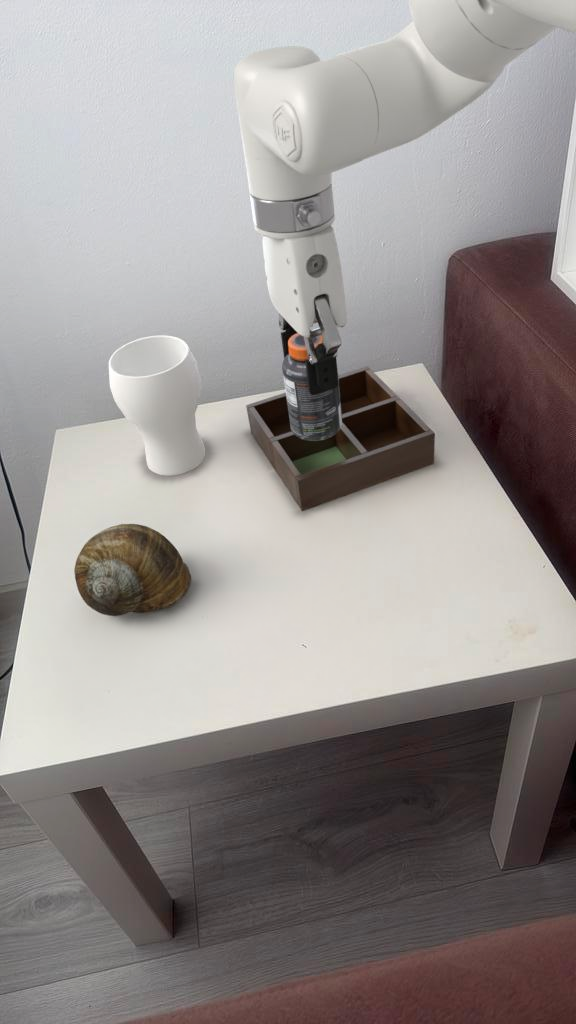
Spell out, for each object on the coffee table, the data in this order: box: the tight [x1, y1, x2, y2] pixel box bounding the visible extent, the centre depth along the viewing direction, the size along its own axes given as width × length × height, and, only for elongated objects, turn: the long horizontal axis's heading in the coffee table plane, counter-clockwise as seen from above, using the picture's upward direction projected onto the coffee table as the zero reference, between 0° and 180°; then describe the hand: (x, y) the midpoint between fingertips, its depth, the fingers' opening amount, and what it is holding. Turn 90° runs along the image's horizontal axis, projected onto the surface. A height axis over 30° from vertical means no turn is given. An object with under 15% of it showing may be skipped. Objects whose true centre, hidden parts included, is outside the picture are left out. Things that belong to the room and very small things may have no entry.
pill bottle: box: [281, 333, 342, 441], centre depth 80 cm, size 6×6×11 cm
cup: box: [108, 334, 207, 477], centre depth 90 cm, size 11×11×15 cm
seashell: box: [73, 523, 192, 617], centre depth 76 cm, size 11×9×8 cm
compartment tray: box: [245, 365, 436, 512], centre depth 91 cm, size 17×17×5 cm
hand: (310, 374), depth 79 cm, fingers closed on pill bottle, 6 cm apart
